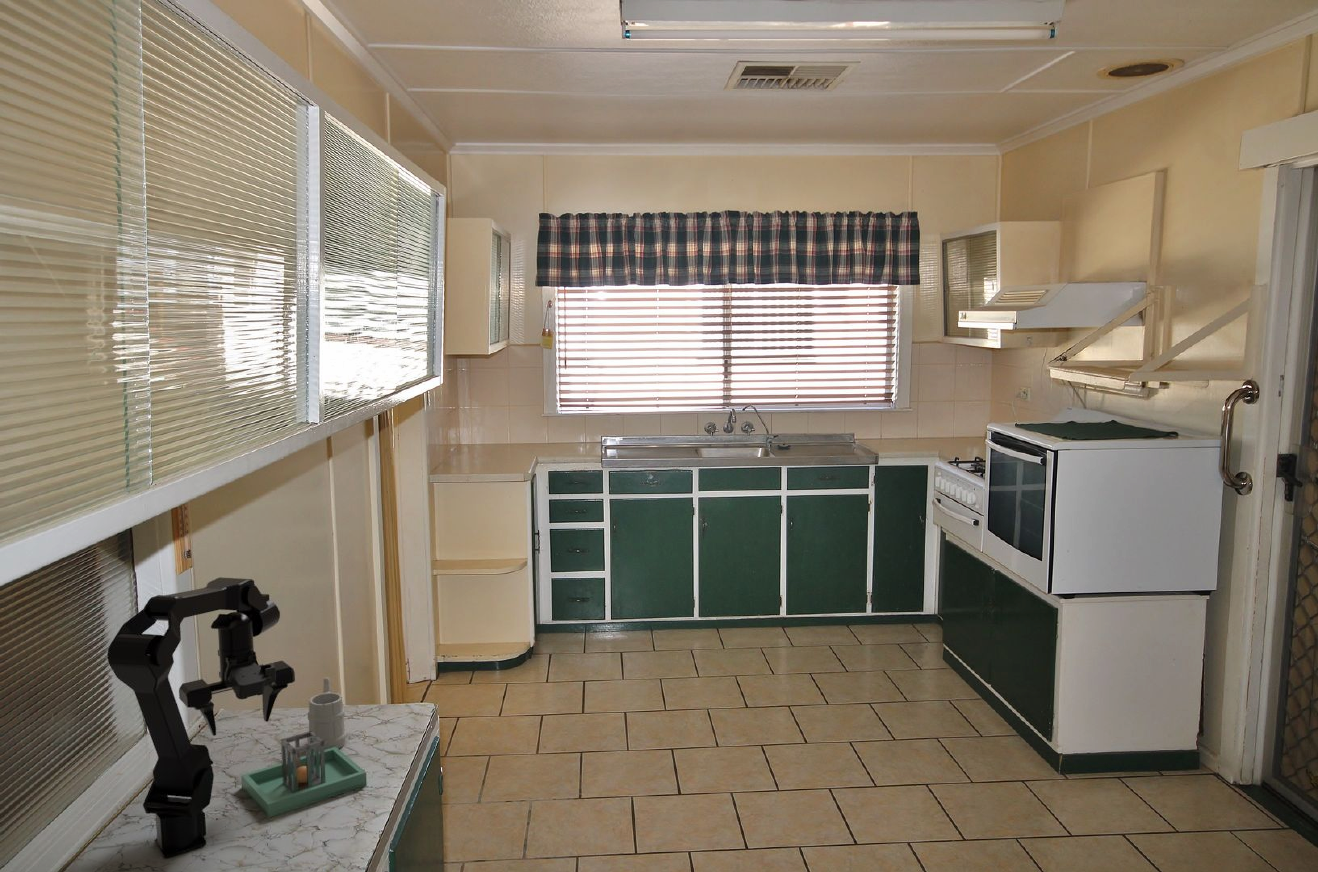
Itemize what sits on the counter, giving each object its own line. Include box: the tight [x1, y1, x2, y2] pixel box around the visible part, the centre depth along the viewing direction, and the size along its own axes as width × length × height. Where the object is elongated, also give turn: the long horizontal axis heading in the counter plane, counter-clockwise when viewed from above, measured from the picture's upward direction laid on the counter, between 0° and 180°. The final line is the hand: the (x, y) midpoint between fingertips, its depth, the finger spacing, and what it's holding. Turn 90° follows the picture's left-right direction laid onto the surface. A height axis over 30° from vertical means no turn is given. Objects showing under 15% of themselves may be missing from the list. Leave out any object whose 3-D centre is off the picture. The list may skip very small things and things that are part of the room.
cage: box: [280, 730, 326, 793], centre depth 177 cm, size 6×6×8 cm
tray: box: [240, 747, 368, 818], centre depth 178 cm, size 18×14×2 cm
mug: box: [306, 677, 348, 751], centre depth 197 cm, size 8×12×12 cm, turn 17°
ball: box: [297, 766, 307, 783], centre depth 177 cm, size 3×3×3 cm
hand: (240, 727), depth 175 cm, fingers open, 9 cm apart
